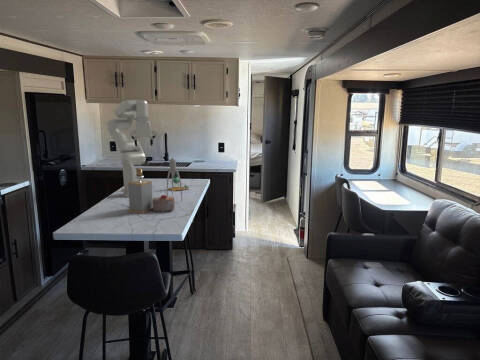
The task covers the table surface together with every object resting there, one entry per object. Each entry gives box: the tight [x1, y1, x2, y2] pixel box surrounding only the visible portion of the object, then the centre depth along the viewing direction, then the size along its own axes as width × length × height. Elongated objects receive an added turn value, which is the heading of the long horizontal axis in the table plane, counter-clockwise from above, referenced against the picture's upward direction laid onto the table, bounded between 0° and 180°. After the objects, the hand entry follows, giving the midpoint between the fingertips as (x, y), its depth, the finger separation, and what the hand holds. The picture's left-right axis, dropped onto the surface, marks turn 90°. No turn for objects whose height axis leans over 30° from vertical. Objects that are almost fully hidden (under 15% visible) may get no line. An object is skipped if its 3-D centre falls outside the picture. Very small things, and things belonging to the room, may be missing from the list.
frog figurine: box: [168, 172, 190, 192], centre depth 280 cm, size 10×18×15 cm, turn 80°
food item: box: [152, 194, 176, 213], centre depth 224 cm, size 14×8×10 cm, turn 99°
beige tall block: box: [126, 179, 153, 215], centre depth 224 cm, size 12×12×18 cm
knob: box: [135, 167, 145, 183], centre depth 223 cm, size 8×8×25 cm
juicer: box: [166, 157, 183, 201], centre depth 245 cm, size 10×9×30 cm
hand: (143, 145), depth 238 cm, fingers open, 9 cm apart
